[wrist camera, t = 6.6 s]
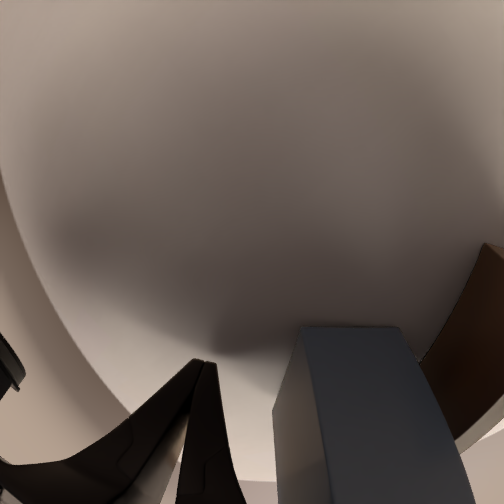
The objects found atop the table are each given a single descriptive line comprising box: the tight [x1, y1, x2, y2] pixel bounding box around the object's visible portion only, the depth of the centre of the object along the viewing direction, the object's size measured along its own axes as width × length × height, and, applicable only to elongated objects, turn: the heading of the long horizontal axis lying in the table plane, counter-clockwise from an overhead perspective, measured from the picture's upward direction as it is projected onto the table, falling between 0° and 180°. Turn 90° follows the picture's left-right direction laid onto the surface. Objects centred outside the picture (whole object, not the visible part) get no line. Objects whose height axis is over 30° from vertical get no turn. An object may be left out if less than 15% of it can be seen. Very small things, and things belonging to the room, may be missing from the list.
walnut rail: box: [419, 243, 504, 454], centre depth 7 cm, size 2×12×4 cm, turn 173°
